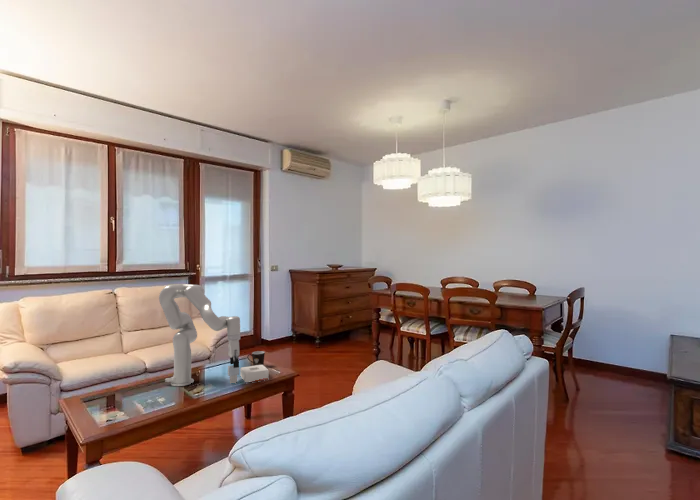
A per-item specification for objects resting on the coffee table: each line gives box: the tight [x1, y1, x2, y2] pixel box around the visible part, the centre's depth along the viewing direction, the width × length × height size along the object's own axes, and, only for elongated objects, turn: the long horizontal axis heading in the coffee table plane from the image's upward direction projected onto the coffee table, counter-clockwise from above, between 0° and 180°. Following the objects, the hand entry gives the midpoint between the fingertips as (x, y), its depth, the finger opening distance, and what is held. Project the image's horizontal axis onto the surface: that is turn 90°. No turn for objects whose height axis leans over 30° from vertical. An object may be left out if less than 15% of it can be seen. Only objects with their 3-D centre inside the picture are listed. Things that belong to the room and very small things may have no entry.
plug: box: [227, 364, 240, 384], centre depth 218 cm, size 6×4×10 cm, turn 119°
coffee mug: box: [246, 350, 266, 366], centre depth 252 cm, size 12×9×10 cm
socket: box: [239, 364, 269, 383], centre depth 226 cm, size 14×14×6 cm
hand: (234, 365), depth 218 cm, fingers open, 9 cm apart
